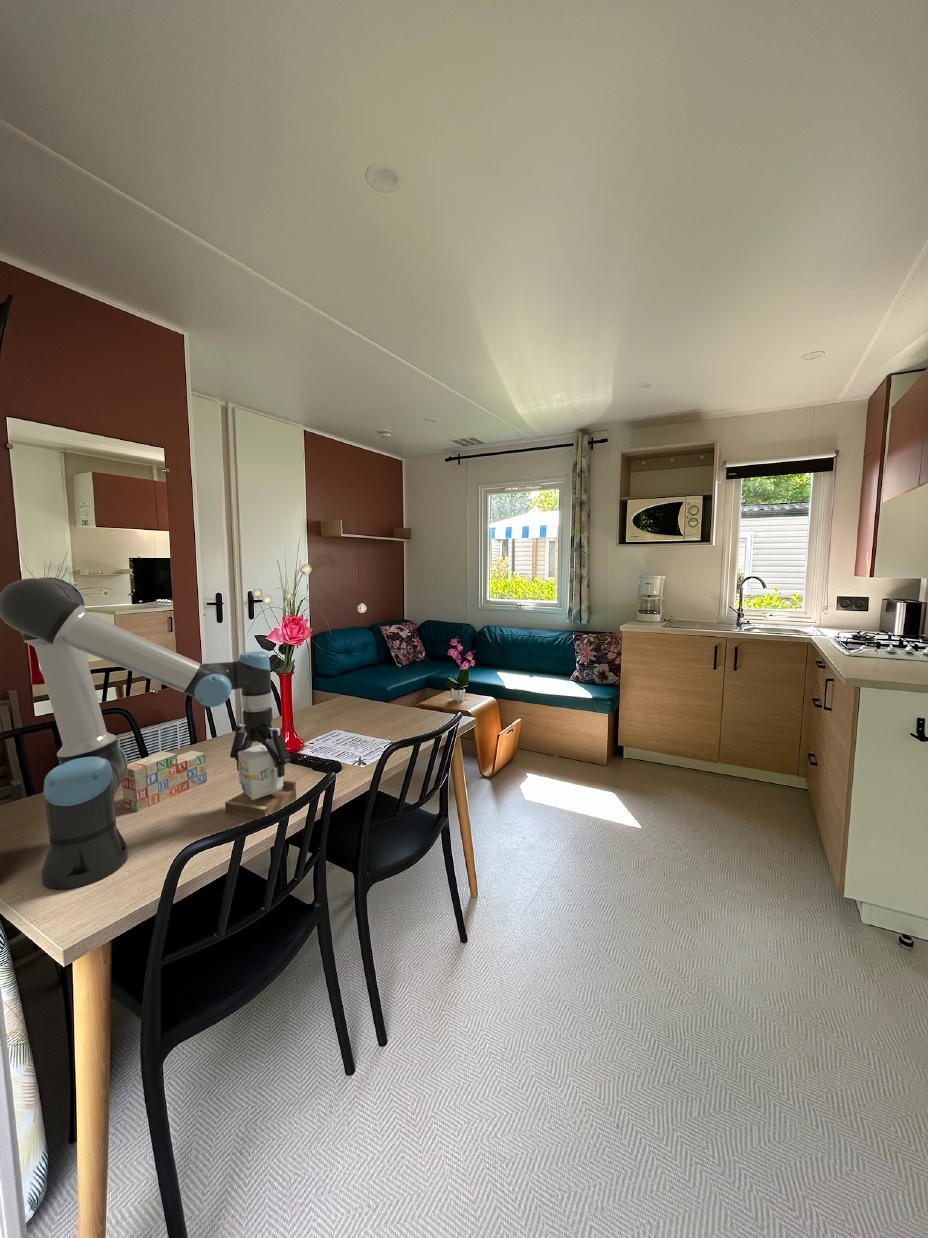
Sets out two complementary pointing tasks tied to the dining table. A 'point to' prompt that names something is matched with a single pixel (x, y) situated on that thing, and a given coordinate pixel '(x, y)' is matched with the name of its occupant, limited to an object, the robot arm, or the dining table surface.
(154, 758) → the stack of blocks
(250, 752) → the ink box
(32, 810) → the dining table surface
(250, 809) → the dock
